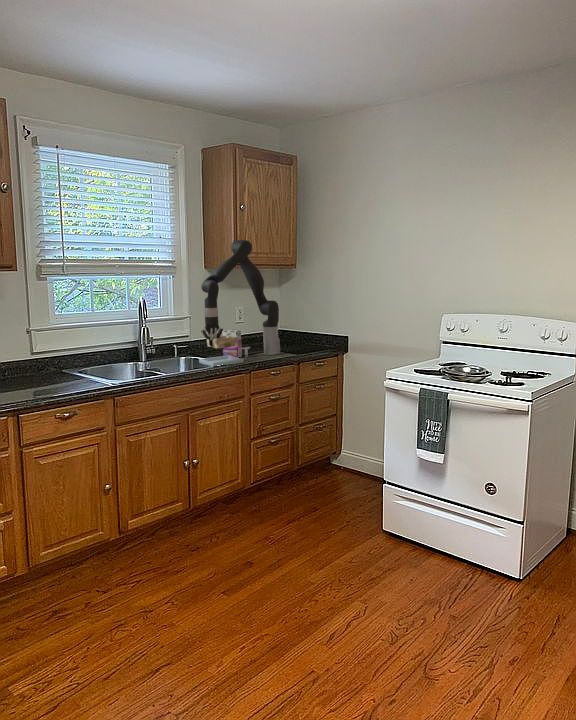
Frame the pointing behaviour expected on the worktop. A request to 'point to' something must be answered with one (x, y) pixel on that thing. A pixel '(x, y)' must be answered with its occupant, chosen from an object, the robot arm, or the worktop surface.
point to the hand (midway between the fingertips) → (213, 346)
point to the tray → (220, 360)
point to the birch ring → (223, 342)
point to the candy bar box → (235, 350)
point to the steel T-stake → (246, 352)
